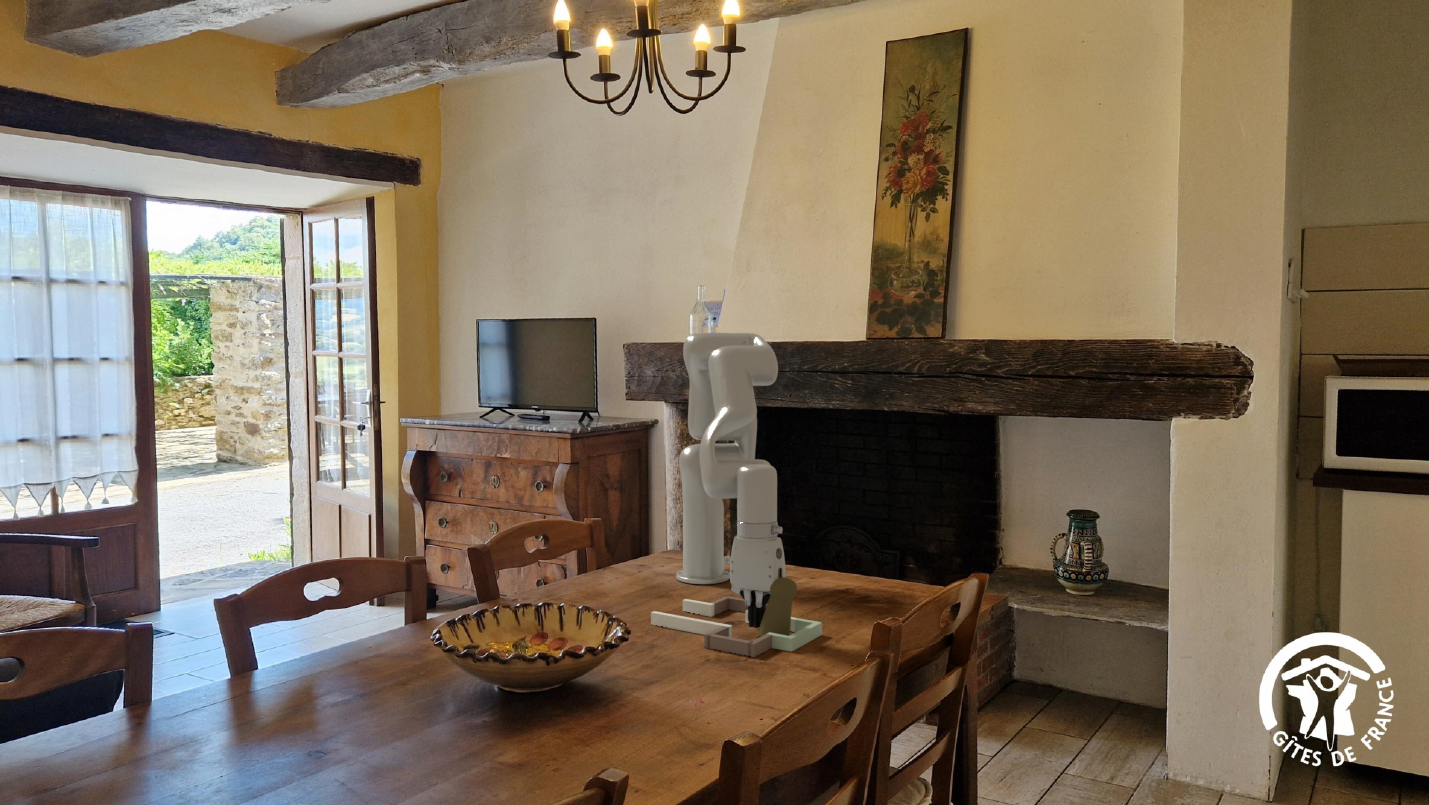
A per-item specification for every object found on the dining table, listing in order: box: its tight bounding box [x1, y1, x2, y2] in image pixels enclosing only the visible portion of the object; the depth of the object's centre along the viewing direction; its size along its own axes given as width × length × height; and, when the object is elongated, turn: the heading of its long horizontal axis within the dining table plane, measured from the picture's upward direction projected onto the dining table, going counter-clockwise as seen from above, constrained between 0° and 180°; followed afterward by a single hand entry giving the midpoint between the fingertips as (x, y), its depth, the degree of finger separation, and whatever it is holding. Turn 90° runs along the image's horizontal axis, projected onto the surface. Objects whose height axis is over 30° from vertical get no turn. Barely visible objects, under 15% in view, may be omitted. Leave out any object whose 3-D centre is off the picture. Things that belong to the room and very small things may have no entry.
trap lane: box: [650, 595, 823, 658], centre depth 190 cm, size 25×31×2 cm
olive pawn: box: [757, 577, 798, 637], centre depth 184 cm, size 6×6×11 cm
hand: (756, 625), depth 187 cm, fingers closed
